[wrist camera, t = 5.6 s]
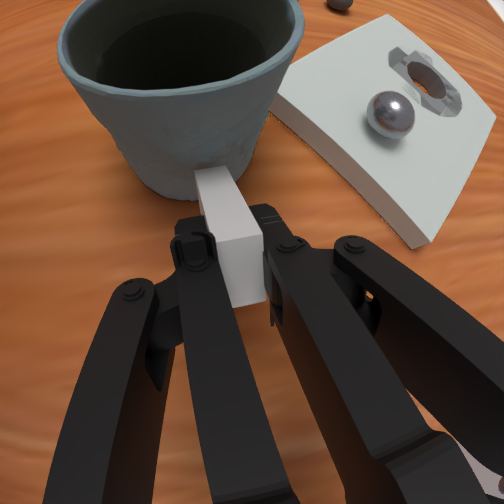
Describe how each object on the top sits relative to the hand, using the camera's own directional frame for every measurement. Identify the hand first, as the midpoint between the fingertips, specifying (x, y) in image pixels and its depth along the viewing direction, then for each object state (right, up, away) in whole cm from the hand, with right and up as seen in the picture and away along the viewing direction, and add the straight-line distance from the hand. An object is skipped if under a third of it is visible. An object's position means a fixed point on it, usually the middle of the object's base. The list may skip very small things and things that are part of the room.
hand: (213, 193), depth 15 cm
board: (+15, +10, +9) cm, 20 cm away
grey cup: (-3, +5, +6) cm, 8 cm away
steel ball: (+11, +7, +4) cm, 14 cm away
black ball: (+11, +25, +10) cm, 29 cm away
